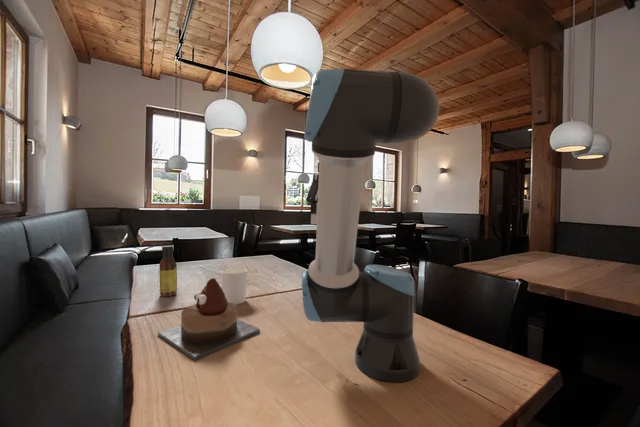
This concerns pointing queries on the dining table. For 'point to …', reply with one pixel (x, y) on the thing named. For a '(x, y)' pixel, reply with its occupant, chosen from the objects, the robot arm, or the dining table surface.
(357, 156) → the robot arm
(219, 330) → the post stand
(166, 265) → the sauce bottle
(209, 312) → the poop emoji
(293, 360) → the dining table surface
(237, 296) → the candle holder
